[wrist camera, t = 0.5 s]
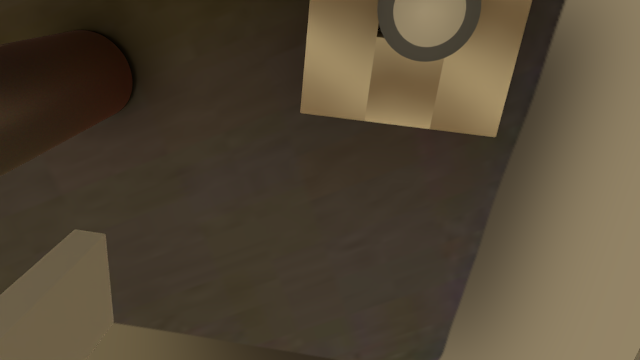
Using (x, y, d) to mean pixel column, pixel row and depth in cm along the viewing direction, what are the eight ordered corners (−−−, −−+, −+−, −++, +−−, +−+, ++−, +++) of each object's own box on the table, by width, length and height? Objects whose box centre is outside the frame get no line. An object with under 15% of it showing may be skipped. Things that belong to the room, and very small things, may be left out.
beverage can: (80, 124, 35) (-108, 221, 21) (38, 44, 32) (-202, 94, 19) (151, 101, 33) (-1, 189, 20) (112, 17, 31) (-87, 49, 18)
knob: (382, -47, 25) (386, -52, 20) (468, -38, 25) (493, -41, 20) (370, 41, 27) (371, 56, 22) (450, 50, 27) (469, 67, 22)
